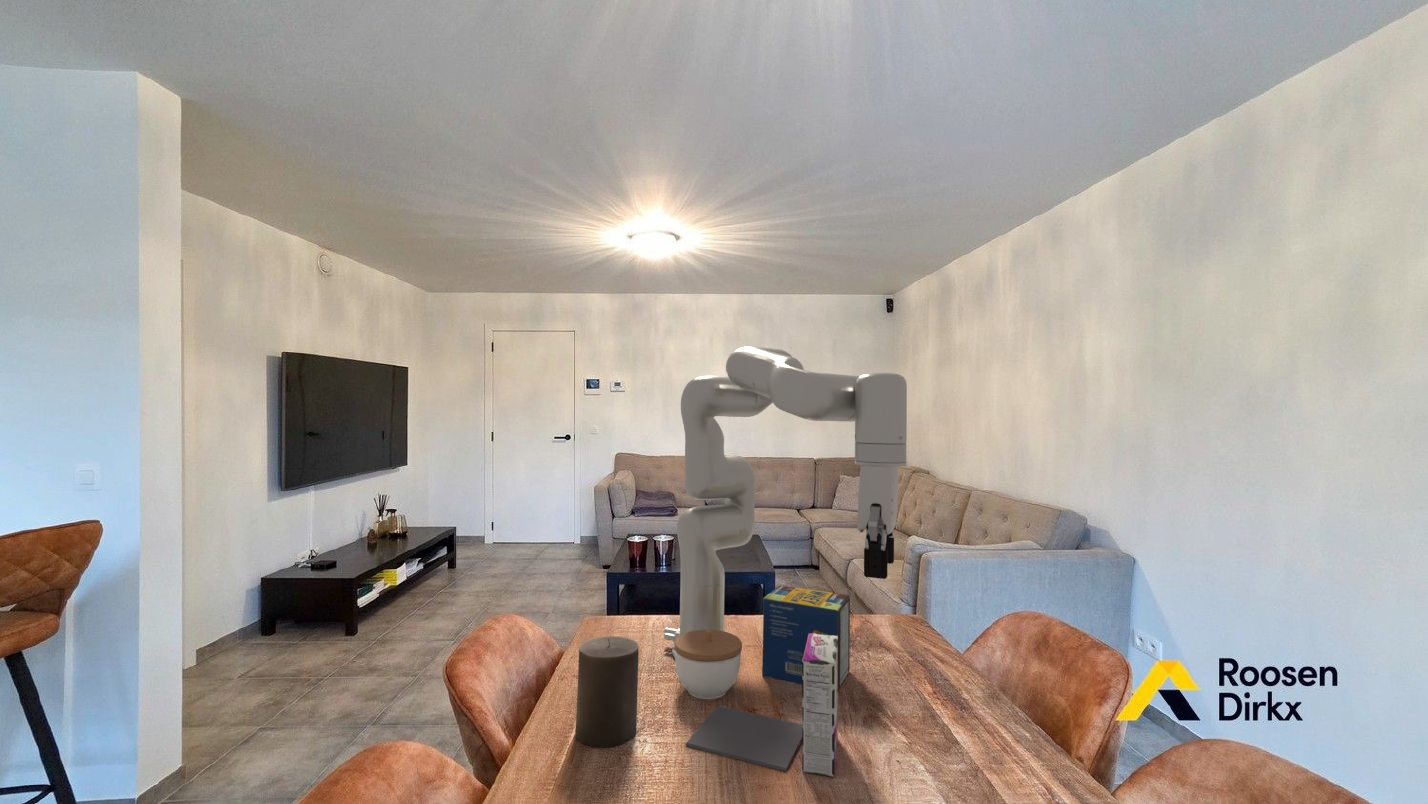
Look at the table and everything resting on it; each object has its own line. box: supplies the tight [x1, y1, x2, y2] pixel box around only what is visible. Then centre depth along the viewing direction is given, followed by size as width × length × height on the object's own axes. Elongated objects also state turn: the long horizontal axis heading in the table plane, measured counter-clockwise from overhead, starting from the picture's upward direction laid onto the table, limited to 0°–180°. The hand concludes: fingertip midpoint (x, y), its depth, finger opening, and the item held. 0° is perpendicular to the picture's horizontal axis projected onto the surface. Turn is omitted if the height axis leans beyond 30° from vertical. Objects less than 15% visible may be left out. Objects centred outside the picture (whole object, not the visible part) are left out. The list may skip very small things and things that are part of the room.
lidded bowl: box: [674, 630, 743, 701], centre depth 111 cm, size 13×13×11 cm
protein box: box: [761, 584, 851, 691], centre depth 119 cm, size 10×15×16 cm
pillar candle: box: [575, 635, 640, 748], centre depth 96 cm, size 10×10×15 cm
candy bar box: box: [801, 633, 839, 778], centre depth 91 cm, size 11×5×16 cm, turn 166°
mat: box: [685, 705, 802, 773], centre depth 95 cm, size 16×13×1 cm
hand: (879, 569), depth 89 cm, fingers open, 9 cm apart
